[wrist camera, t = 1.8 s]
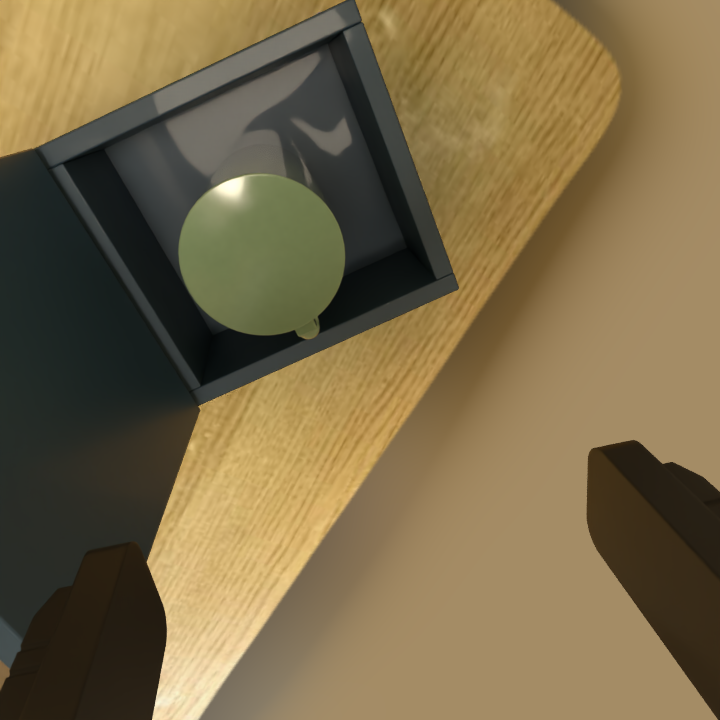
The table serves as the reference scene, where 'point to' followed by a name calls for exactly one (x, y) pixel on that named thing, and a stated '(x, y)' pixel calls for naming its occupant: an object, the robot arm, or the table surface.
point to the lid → (73, 403)
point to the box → (219, 140)
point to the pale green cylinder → (262, 245)
